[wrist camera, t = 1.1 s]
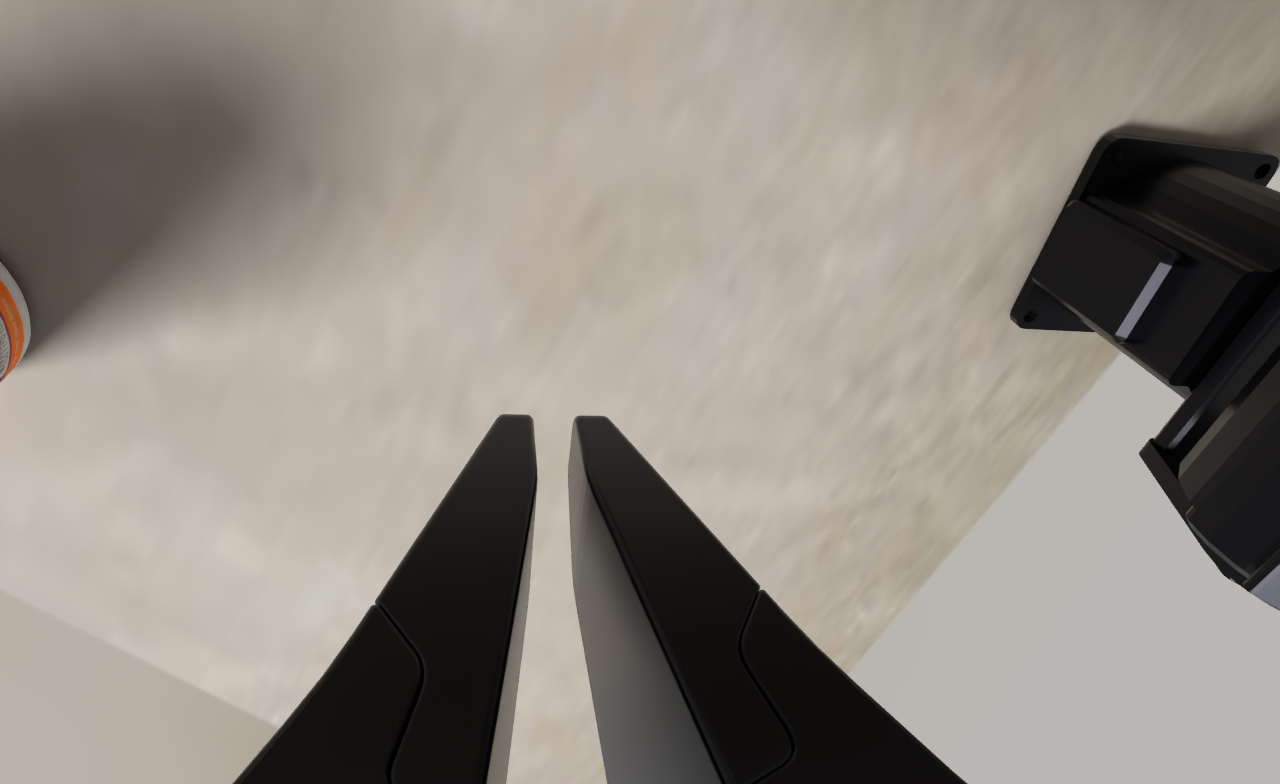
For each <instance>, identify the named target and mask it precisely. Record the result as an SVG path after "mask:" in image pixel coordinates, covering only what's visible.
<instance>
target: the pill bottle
mask: <svg viewBox="0 0 1280 784" xmlns="http://www.w3.org/2000/svg"><path fill="white" fill-rule="evenodd" d="M30 336H31V327H30V317H29V312H28V308H27V305H26V302H25V300H24V297H23V294H22V292H21V291H20V289H19V287H18V285H17V284H16V282H15V281H14V279H13V278H12V276H11V275H10V273H9V272H8V270H7V269H6V268H5V267H4V266H3V264H2V263H1V262H0V382H1V381H2V380H3V379H4V378H5V377H6V376H7V375H8V374H9V373H10V372H11V371H12V370H13V369H14V368H15V367H16V366H17V365H18V363H19V362H20V360H21V359H22V357H23V355H24V353H25V351H26V349H27V347H28V344H29V342H30Z"/></svg>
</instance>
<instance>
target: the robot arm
mask: <svg viewBox="0 0 1280 784" xmlns="http://www.w3.org/2000/svg"><path fill="white" fill-rule="evenodd" d="M1113 149H1115V151H1114V153H1113V154H1112V155H1111V156H1110V157H1109V154H1110V152H1111V151H1112V150H1113ZM1108 157H1109V158H1108ZM1278 164H1279V161H1278V158H1277V157H1275V156H1273V155H1270V154H1267V153H1264V152H1261V151H1253V150H1245V149H1236V148H1228V147H1220V146H1212V145H1203V144H1195V143H1187V142H1179V141H1170V140H1162V139H1154V138H1146V137H1137V136H1129V135H1121V134H1111V135H1108V136H1106V137H1104V138H1103V139H1102V140H1100V141H1099V142H1098V143H1097V145H1096V146H1095V147H1094V149H1093V151H1092V153H1091V155H1090V157H1089V159H1088V161H1087V163H1086V164H1085V166H1084V168H1083V170H1082V172H1081V174H1080V176H1079V178H1078V180H1077V182H1076V184H1075V186H1074V188H1073V190H1072V192H1071V194H1070V196H1069V198H1068V200H1067V202H1066V204H1065V206H1064V208H1063V210H1062V212H1061V214H1060V215H1059V217H1058V219H1057V221H1056V223H1055V225H1054V227H1053V229H1052V231H1051V233H1050V235H1049V237H1048V239H1047V241H1046V243H1045V245H1044V247H1043V249H1042V251H1041V253H1040V255H1039V257H1038V259H1037V261H1036V263H1035V265H1034V266H1033V268H1032V270H1031V272H1030V274H1029V276H1028V278H1027V280H1026V282H1025V284H1024V286H1023V288H1022V290H1021V292H1020V294H1019V296H1018V298H1017V300H1016V302H1015V304H1014V306H1013V308H1012V310H1011V313H1010V318H1011V320H1012V321H1013V322H1014V323H1015V324H1016V325H1018V326H1019V327H1020V328H1024V329H1041V330H1061V331H1082V332H1097V333H1098V334H1099V335H1100V336H1102V337H1103V338H1104V339H1106V340H1107V341H1108V342H1110V343H1111V344H1112V345H1114V346H1115V347H1116V348H1118V349H1119V350H1120V351H1122V352H1123V353H1124V354H1126V355H1127V356H1128V357H1130V358H1131V359H1132V360H1134V361H1135V362H1136V363H1138V364H1139V365H1140V366H1142V367H1143V368H1144V369H1145V370H1147V371H1148V372H1149V373H1151V374H1152V375H1153V376H1155V377H1156V378H1157V379H1159V380H1160V381H1161V382H1163V383H1164V384H1165V385H1167V386H1168V387H1169V388H1171V389H1172V390H1173V391H1175V392H1176V393H1177V394H1179V395H1180V396H1181V397H1183V398H1184V399H1185V401H1184V402H1183V403H1182V404H1181V406H1180V407H1179V408H1178V410H1177V411H1176V412H1175V413H1174V415H1173V416H1172V417H1171V419H1170V420H1169V421H1168V422H1167V424H1166V425H1165V426H1164V427H1163V429H1162V430H1161V431H1160V433H1159V434H1158V435H1157V436H1156V437H1155V438H1152V439H1150V440H1149V441H1148V442H1147V443H1146V445H1145V446H1144V447H1143V449H1142V450H1141V451H1140V452H1139V455H1140V457H1141V458H1142V459H1143V461H1144V463H1145V464H1146V465H1147V467H1148V468H1149V470H1150V471H1151V473H1152V474H1153V476H1154V477H1155V479H1156V480H1157V482H1158V483H1159V484H1160V486H1161V487H1162V489H1163V490H1164V492H1165V493H1166V495H1167V496H1168V498H1169V499H1170V501H1171V502H1172V504H1173V505H1174V507H1175V508H1176V509H1177V511H1178V512H1179V514H1180V515H1181V517H1182V518H1183V520H1184V521H1185V523H1186V524H1187V526H1188V527H1189V529H1190V530H1191V532H1192V533H1193V535H1194V536H1195V537H1196V539H1197V540H1198V542H1199V543H1200V545H1201V546H1202V548H1203V549H1204V551H1206V553H1207V554H1208V555H1209V557H1210V558H1211V559H1212V560H1213V562H1214V563H1215V564H1216V566H1217V567H1218V569H1219V570H1220V571H1221V573H1222V574H1223V575H1224V576H1225V577H1227V578H1228V579H1229V580H1231V581H1233V582H1235V583H1237V584H1239V585H1241V586H1242V587H1243V588H1244V589H1246V590H1247V591H1248V592H1250V593H1251V594H1253V595H1255V596H1256V597H1258V598H1259V599H1261V600H1262V601H1264V602H1265V603H1267V604H1268V605H1270V606H1272V607H1274V608H1276V609H1278V610H1280V192H1277V191H1275V190H1272V189H1270V188H1267V187H1266V186H1267V184H1268V183H1269V181H1270V180H1271V178H1272V177H1273V175H1274V174H1275V172H1276V170H1277V168H1278ZM1029 311H1030V312H1029ZM1027 312H1029V313H1028V314H1027V315H1025V314H1026V313H1027ZM568 488H569V511H570V535H571V558H572V575H573V587H574V594H575V601H576V607H577V613H578V618H579V624H580V630H581V635H582V641H583V647H584V653H585V658H586V664H587V670H588V676H589V681H590V687H591V693H592V698H593V704H594V710H595V716H596V721H597V727H598V733H599V738H600V744H601V750H602V756H603V761H604V767H605V773H606V779H607V784H967V783H966V782H965V781H964V780H963V779H961V778H960V777H959V776H958V775H957V774H955V773H954V772H953V771H952V770H951V769H950V768H949V767H948V766H946V765H945V764H944V763H943V762H942V761H941V760H940V759H939V758H938V757H937V756H936V755H934V754H933V753H932V752H931V751H930V750H929V749H928V748H927V747H926V746H925V745H923V744H922V743H921V742H920V741H919V740H918V739H917V738H916V737H915V736H914V735H912V734H911V733H910V732H909V731H908V730H907V729H906V728H905V727H904V726H902V725H901V724H900V723H899V722H898V721H897V720H896V719H895V718H894V717H893V716H891V715H890V714H889V713H888V712H887V711H886V710H885V709H884V708H883V707H881V706H880V705H879V704H878V703H877V702H876V701H875V700H874V699H873V698H872V697H870V696H869V695H868V694H867V693H866V692H865V691H864V690H863V689H862V688H861V687H860V686H858V685H857V684H856V683H855V682H854V681H853V680H852V679H851V678H850V677H849V676H848V675H847V674H846V673H845V672H844V671H843V670H841V669H840V668H839V667H838V666H837V665H836V664H835V663H834V662H833V661H832V660H831V659H830V658H829V657H828V656H827V655H826V654H825V653H824V652H823V651H821V650H820V649H819V648H818V647H817V646H816V645H815V644H814V643H813V642H812V640H811V639H810V638H809V637H808V636H807V635H806V634H805V633H804V632H803V631H802V630H801V629H800V628H799V627H798V626H797V625H796V624H795V623H794V622H793V621H792V620H791V619H790V617H789V616H788V615H787V614H786V613H785V612H784V611H783V610H782V609H781V608H780V607H779V606H778V605H777V603H776V602H775V601H774V600H773V599H772V598H771V597H770V596H769V595H768V593H767V592H766V591H765V590H760V591H759V589H760V585H759V584H758V583H757V582H756V581H755V580H754V578H753V577H752V576H751V575H750V574H749V573H748V572H747V571H746V570H745V568H744V567H743V566H742V565H741V564H740V563H739V562H738V561H737V560H736V559H735V557H734V556H733V555H732V554H731V553H730V552H729V551H728V550H727V549H726V548H725V546H724V545H723V544H722V543H721V542H720V541H719V540H718V539H717V538H716V536H715V535H714V534H713V533H712V532H711V531H710V530H709V529H708V528H707V527H706V525H705V524H704V523H703V522H702V521H701V520H700V519H699V518H698V517H697V516H696V514H695V513H694V512H693V511H692V510H691V509H690V508H689V507H688V506H687V504H686V503H685V502H684V501H683V500H682V499H681V498H680V497H679V496H678V495H677V493H676V492H675V491H674V490H673V489H672V488H671V487H670V486H669V485H668V484H667V482H666V481H665V480H664V479H663V478H662V477H661V476H660V475H659V474H658V472H657V471H656V470H655V469H654V468H653V467H652V466H651V465H650V464H649V463H648V461H647V460H646V459H645V458H644V457H643V456H642V455H641V454H640V453H639V452H638V450H637V449H636V448H635V447H634V446H633V445H632V444H631V443H630V442H629V440H628V439H627V438H626V437H625V436H624V435H623V434H622V433H621V432H620V431H619V429H618V428H617V427H616V426H615V425H614V424H613V423H612V422H611V421H610V420H609V419H608V418H607V417H605V416H577V417H576V418H575V419H574V422H573V428H572V437H571V447H570V456H569V466H568ZM536 492H537V461H536V448H535V436H534V424H533V419H532V417H531V416H530V415H515V414H503V415H500V416H499V417H498V418H497V419H496V421H495V422H494V424H493V425H492V427H491V428H490V430H489V431H488V433H487V434H486V436H485V437H484V439H483V440H482V442H481V443H480V445H479V446H478V448H477V449H476V451H475V452H474V454H473V455H472V457H471V458H470V460H469V461H468V463H467V464H466V466H465V467H464V469H463V470H462V472H461V473H460V475H459V476H458V478H457V479H456V481H455V482H454V484H453V485H452V487H451V488H450V489H449V491H448V492H447V494H446V495H445V497H444V498H443V500H442V501H441V503H440V504H439V506H438V507H437V509H436V510H435V512H434V513H433V515H432V516H431V518H430V519H429V521H428V522H427V524H426V525H425V527H424V528H423V530H422V531H421V533H420V534H419V536H418V537H417V539H416V540H415V542H414V543H413V545H412V546H411V548H410V549H409V551H408V552H407V554H406V555H405V557H404V558H403V560H402V561H401V563H400V564H399V566H398V567H397V569H396V570H395V572H394V573H393V575H392V576H391V578H390V579H389V581H388V582H387V584H386V585H385V587H384V588H383V590H382V591H381V593H380V594H379V596H378V597H377V599H376V601H375V605H372V606H371V607H370V609H369V610H368V612H367V613H366V615H365V616H364V618H363V619H362V621H361V622H360V624H359V625H358V627H357V628H356V630H355V631H354V633H353V634H352V635H351V637H350V638H349V640H348V641H347V642H346V644H345V645H344V647H343V648H342V649H341V651H340V652H339V654H338V655H337V656H336V658H335V659H334V660H333V662H332V663H331V665H330V666H329V667H328V669H327V670H326V672H325V673H324V674H323V676H322V677H321V678H320V680H319V681H318V682H317V683H316V685H315V686H314V687H313V688H312V689H311V691H310V692H309V693H308V694H307V696H306V697H305V698H304V699H303V701H302V702H301V703H300V704H299V705H298V707H297V708H296V709H295V710H294V712H293V713H292V714H291V715H290V717H289V718H288V719H287V720H286V721H285V723H284V724H283V725H282V726H281V728H280V729H279V730H278V731H277V732H276V734H275V735H274V736H273V737H272V738H271V739H270V741H269V742H268V743H267V744H266V745H265V746H264V747H263V749H262V750H261V751H260V752H259V753H258V755H257V756H256V757H255V758H254V759H253V760H252V762H251V763H250V764H249V765H248V766H247V767H246V769H245V770H244V771H243V772H242V773H241V774H240V776H239V777H238V778H237V779H236V780H235V782H234V783H233V784H506V779H507V771H508V763H509V755H510V747H511V739H512V731H513V723H514V715H515V706H516V698H517V690H518V682H519V674H520V666H521V658H522V650H523V642H524V633H525V625H526V617H527V609H528V600H529V589H530V575H531V562H532V548H533V534H534V520H535V506H536Z"/></svg>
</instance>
